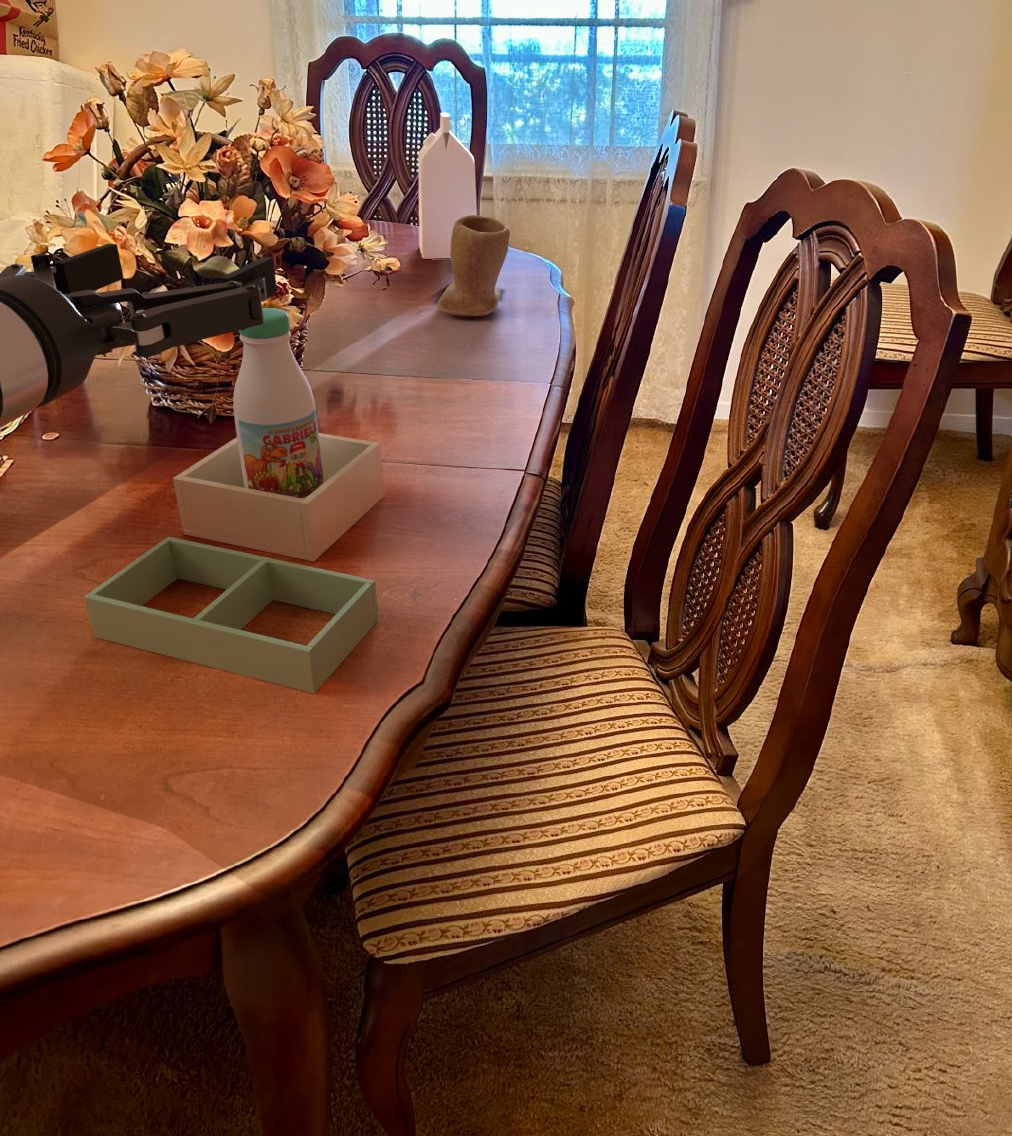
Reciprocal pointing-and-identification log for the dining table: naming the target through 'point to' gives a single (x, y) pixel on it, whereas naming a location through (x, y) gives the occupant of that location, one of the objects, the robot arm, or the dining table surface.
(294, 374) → the milk bottle
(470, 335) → the dining table surface
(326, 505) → the cream square box
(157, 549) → the green divided tray
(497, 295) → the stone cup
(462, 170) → the milk
